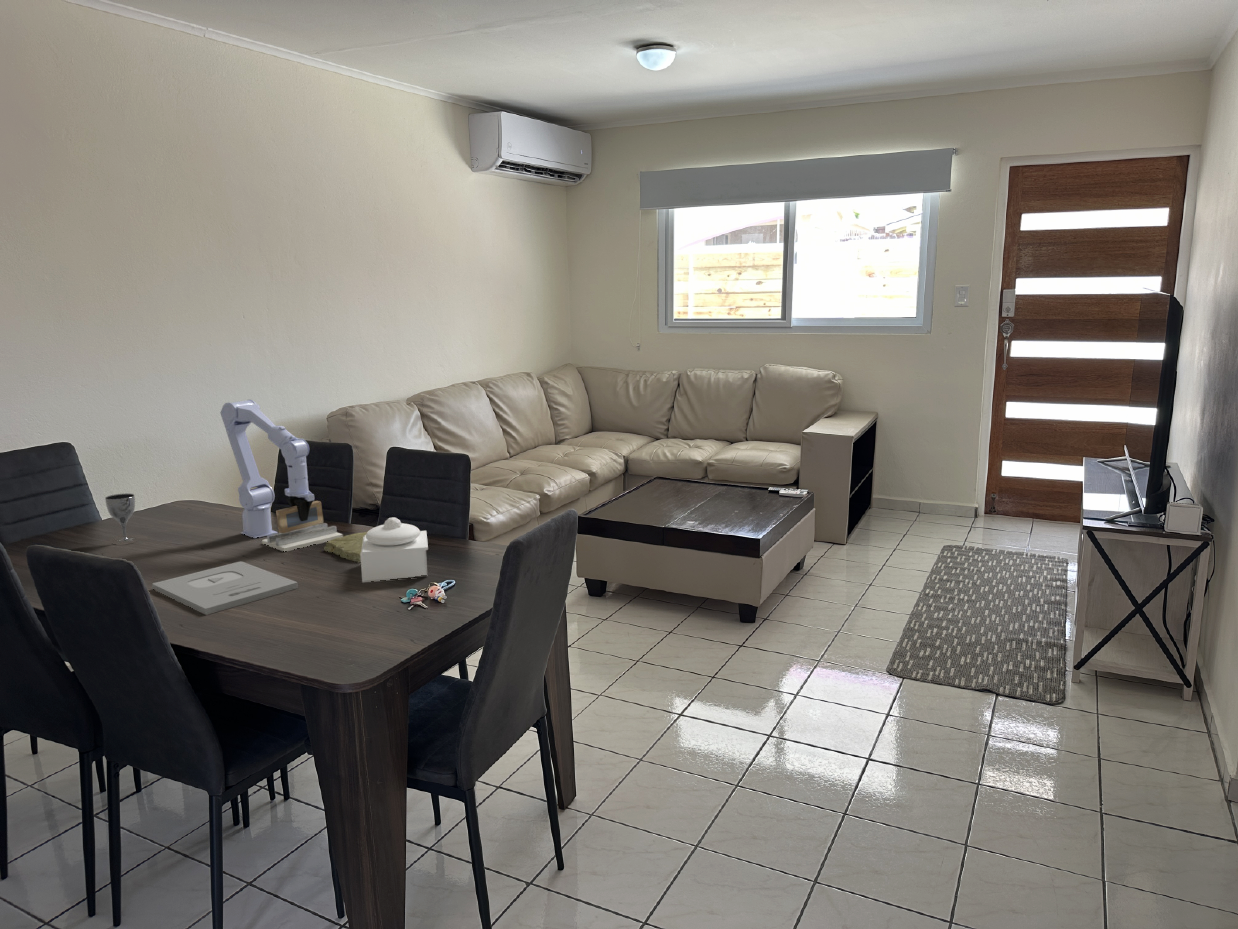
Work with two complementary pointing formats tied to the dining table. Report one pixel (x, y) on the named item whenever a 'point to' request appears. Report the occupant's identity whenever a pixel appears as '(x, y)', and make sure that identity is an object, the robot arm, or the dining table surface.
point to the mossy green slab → (347, 546)
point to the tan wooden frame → (291, 520)
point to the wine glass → (121, 509)
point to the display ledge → (302, 537)
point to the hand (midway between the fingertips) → (301, 519)
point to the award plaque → (224, 587)
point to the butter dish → (393, 552)
